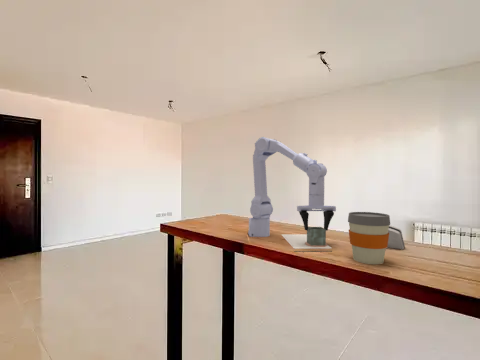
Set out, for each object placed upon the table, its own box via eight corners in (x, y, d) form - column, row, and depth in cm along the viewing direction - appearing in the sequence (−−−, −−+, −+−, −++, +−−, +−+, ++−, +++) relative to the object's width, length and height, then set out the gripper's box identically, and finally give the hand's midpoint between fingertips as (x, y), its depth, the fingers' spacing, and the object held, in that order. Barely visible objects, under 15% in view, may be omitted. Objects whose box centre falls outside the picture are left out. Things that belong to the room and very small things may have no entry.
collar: (310, 245, 101) (311, 229, 101) (306, 241, 107) (306, 226, 106) (325, 245, 101) (325, 229, 101) (320, 241, 107) (320, 226, 107)
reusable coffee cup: (353, 252, 97) (354, 210, 97) (393, 259, 89) (393, 214, 89) (342, 260, 87) (342, 214, 87) (385, 269, 79) (385, 218, 79)
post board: (294, 251, 97) (294, 234, 97) (281, 237, 121) (281, 223, 121) (332, 251, 98) (332, 234, 98) (312, 236, 122) (312, 223, 122)
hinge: (405, 247, 105) (404, 224, 102) (403, 253, 102) (402, 229, 99) (360, 240, 116) (358, 219, 113) (357, 246, 112) (354, 224, 110)
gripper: (300, 195, 99) (300, 232, 99) (339, 195, 100) (338, 232, 100) (295, 194, 106) (295, 228, 106) (331, 194, 107) (331, 228, 107)
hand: (316, 230), depth 104 cm, fingers open, 7 cm apart
